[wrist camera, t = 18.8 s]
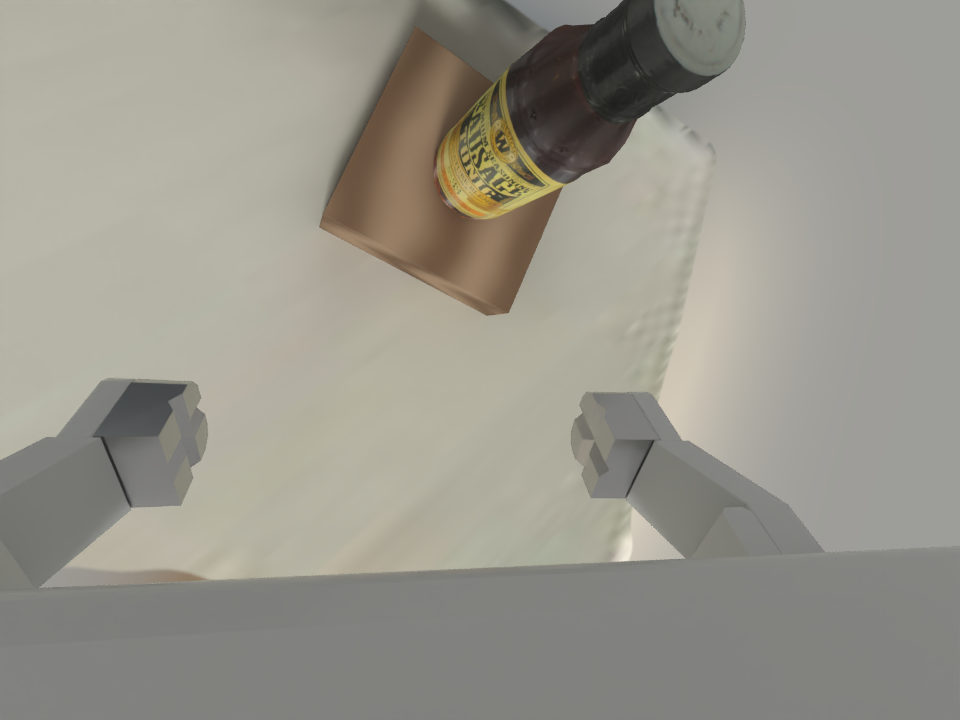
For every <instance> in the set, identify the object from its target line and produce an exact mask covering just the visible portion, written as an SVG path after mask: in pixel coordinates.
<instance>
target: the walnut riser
mask: <svg viewBox="0 0 960 720" xmlns="http://www.w3.org/2000/svg"><path fill="white" fill-rule="evenodd" d="M493 84H494V83H492V82H491V81H490V80H488V79H487V78H486V77H484V76H483V75H481V74H480V73H479V72H477V71H476V70H475V69H473V68H472V67H471V66H469V65H468V64H466V63H465V62H464V61H462V60H461V59H460V58H458V57H457V56H456V55H454V54H453V53H451V52H450V51H449V50H447V49H446V48H445V47H443V46H442V45H440V44H439V43H438V42H436V41H435V40H434V39H432V38H431V37H430V36H428V35H427V34H425V33H424V32H423V31H421V30H420V29H419V28H417V27H416V26H415V28H414V30H413V32H412V34H411V36H410V38H409V40H408V42H407V45H406V47H405V49H404V51H403V53H402V55H401V57H400V59H399V61H398V63H397V65H396V67H395V69H394V71H393V73H392V75H391V77H390V79H389V81H388V83H387V85H386V87H385V89H384V91H383V93H382V95H381V97H380V99H379V101H378V103H377V105H376V108H375V110H374V112H373V114H372V116H371V118H370V120H369V122H368V124H367V126H366V128H365V130H364V132H363V134H362V136H361V138H360V140H359V142H358V144H357V146H356V148H355V150H354V152H353V154H352V156H351V158H350V160H349V162H348V164H347V166H346V168H345V171H344V173H343V175H342V177H341V179H340V181H339V183H338V185H337V187H336V189H335V191H334V193H333V195H332V197H331V199H330V201H329V203H328V205H327V207H326V209H325V211H324V213H323V217H322V220H321V224H320V228H322V229H324V230H326V231H328V232H330V233H331V234H333V235H335V236H337V237H339V238H341V239H343V240H345V241H347V242H349V243H350V244H352V245H354V246H356V247H358V248H360V249H362V250H364V251H366V252H368V253H369V254H371V255H373V256H375V257H377V258H379V259H381V260H383V261H385V262H386V263H388V264H390V265H392V266H394V267H396V268H398V269H400V270H402V271H404V272H405V273H407V274H409V275H411V276H413V277H415V278H417V279H419V280H421V281H423V282H424V283H426V284H428V285H430V286H432V287H434V288H436V289H438V290H440V291H442V292H443V293H445V294H447V295H449V296H451V297H453V298H455V299H457V300H459V301H461V302H462V303H464V304H466V305H468V306H470V307H472V308H474V309H476V310H478V311H480V312H481V313H483V314H485V315H487V316H488V315H496V314H504V313H509V311H510V309H511V306H512V304H513V302H514V299H515V297H516V295H517V292H518V290H519V288H520V285H521V283H522V281H523V278H524V276H525V274H526V271H527V269H528V267H529V264H530V262H531V260H532V257H533V255H534V253H535V250H536V248H537V246H538V243H539V241H540V238H541V236H542V234H543V231H544V229H545V227H546V224H547V222H548V220H549V217H550V215H551V213H552V210H553V208H554V206H555V203H556V201H557V199H558V196H559V194H560V192H561V189H562V187H561V188H559V189H557V190H554V191H552V192H550V193H548V194H546V195H544V196H542V197H540V198H537V199H535V200H533V201H531V202H529V203H527V204H525V205H522V206H520V207H518V208H516V209H514V210H512V211H510V212H507V213H505V214H503V215H501V216H499V217H496V218H492V219H483V220H481V219H480V220H475V219H469V218H463V217H461V216H460V215H458V214H457V213H456V212H454V211H452V210H451V209H450V208H449V207H448V206H447V205H446V204H445V203H444V201H443V200H442V199H441V197H440V196H439V195H438V192H437V188H436V187H435V183H434V174H433V173H434V171H433V164H434V157H435V155H436V154H437V152H438V150H439V147H440V145H441V143H442V141H443V139H444V138H445V136H446V135H447V134H448V132H449V131H450V130H451V129H452V128H453V127H454V126H455V125H456V124H457V123H458V122H459V121H460V120H461V118H462V117H463V116H464V115H465V114H466V113H467V112H468V111H469V110H470V109H471V108H472V107H473V106H474V104H475V103H476V102H477V101H478V100H479V99H480V98H481V97H482V96H483V95H484V94H485V92H486V91H487V90H488V89H489V88H490V87H491V86H492V85H493Z"/></svg>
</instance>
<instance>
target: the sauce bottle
mask: <svg viewBox="0 0 960 720" xmlns="http://www.w3.org/2000/svg"><path fill="white" fill-rule="evenodd" d="M745 25H746V21H745V9H744V1H743V0H623V1H622V2H621V3H620V4H619V6H618V7H616V8H615V9H614V10H613V11H611V12H610V13H609V14H608V15H607V16H606V17H604V18H601V19H600V20H599V21H597V22H596V23H595V24H591V25H574V26H571V25H563V26H560V27H558V28H556V29H554V30H553V31H552V32H550V33H549V34H548V35H547V36H546V37H544V38H543V39H542V40H541V41H540V42H539V43H537V44H536V45H535V46H534V47H533V48H532V49H530V50H529V51H528V52H527V53H526V54H524V55H523V56H522V57H521V58H520V59H519V60H517V61H516V62H515V63H513V64H512V65H511V66H510V67H509V68H508V69H507V70H506V71H505V72H504V73H503V74H502V75H501V77H500V78H499V79H498V80H497V81H496V82H495V83H494V84H493V85H492V86H491V87H490V88H489V89H488V90H487V91H486V92H485V94H484V95H483V96H482V97H481V98H480V99H479V100H478V101H477V102H476V103H475V104H474V106H473V107H472V108H471V109H470V110H469V111H468V112H467V113H466V114H465V115H464V116H463V117H462V118H461V120H460V121H459V122H458V123H457V124H456V125H455V126H454V127H453V128H452V129H451V130H450V131H449V132H448V134H447V135H446V136H445V138H444V139H443V141H442V143H441V145H440V147H439V150H438V152H437V154H436V155H435V157H434V164H433V171H434V173H433V174H434V183H435V187H436V188H437V192H438V195H439V196H440V197H441V199H442V200H443V201H444V203H445V204H446V205H447V206H448V207H449V208H450V209H451V210H452V211H454V212H456V213H457V214H458V215H460V216H461V217H463V218H469V219H475V220H480V219H481V220H483V219H492V218H496V217H499V216H501V215H503V214H505V213H507V212H510V211H512V210H514V209H516V208H518V207H520V206H522V205H525V204H527V203H529V202H531V201H533V200H535V199H537V198H540V197H542V196H544V195H546V194H548V193H550V192H552V191H554V190H557V189H559V188H561V187H563V186H565V185H567V184H569V183H571V182H573V181H575V180H576V179H578V178H579V177H580V176H581V175H583V174H585V173H587V172H590V171H592V170H594V169H596V168H598V167H600V166H603V165H605V164H608V163H609V162H610V161H611V159H612V158H613V157H614V156H615V154H616V153H617V152H618V151H619V150H620V149H621V147H622V146H623V145H624V144H625V142H626V140H627V138H628V137H629V135H630V133H631V130H632V128H633V126H634V124H635V122H636V120H637V119H638V118H640V117H641V116H643V115H644V114H646V113H647V112H649V111H650V109H651V108H652V107H654V106H655V105H658V104H660V103H661V102H663V101H665V100H666V99H668V98H669V97H672V96H673V95H675V94H676V93H684V92H690V91H692V90H695V89H697V88H699V87H701V86H702V85H704V84H706V83H708V82H709V81H711V80H712V79H714V78H715V77H717V76H719V75H720V74H722V73H723V72H725V71H726V70H727V69H728V68H729V67H730V66H731V65H732V64H733V62H734V61H735V59H736V57H737V56H738V54H739V52H740V49H741V45H742V43H743V41H744V34H745Z"/></svg>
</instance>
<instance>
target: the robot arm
mask: <svg viewBox="0 0 960 720" xmlns="http://www.w3.org/2000/svg"><path fill="white" fill-rule="evenodd" d="M200 399H201V395H200V392H199V389H198V385H197V384H196V383H194V382H193V381H172V380H150V379H137V380H136V379H119V378H108V379H105V380H103V381H101V382H100V383H99V384H98V385H97V387H96V388H95V389H94V390H93V392H92V393H91V394H90V395H89V397H88V398H87V399H86V400H85V402H84V403H83V404H82V405H81V407H80V408H79V409H78V410H77V412H76V413H75V414H74V415H73V417H72V418H71V419H70V420H69V422H68V423H67V424H66V425H65V427H64V428H63V429H62V430H61V431H60V433H59V434H58V435H57V436H56V437H46V438H44V439H42V440H40V441H38V442H36V443H34V444H32V445H30V446H28V447H26V448H24V449H22V450H20V451H18V452H16V453H14V454H12V455H10V456H8V457H6V458H4V459H2V460H0V720H960V546H952V547H931V548H911V549H890V550H869V551H847V552H824V550H823V549H822V548H821V546H820V545H819V544H818V542H817V541H816V540H815V539H814V537H813V536H812V535H811V534H810V532H809V531H808V530H807V529H806V527H805V526H804V524H803V523H802V522H801V521H800V519H799V518H798V517H797V515H796V514H795V513H794V512H793V510H792V509H791V508H790V506H789V505H788V504H786V503H785V502H783V501H782V500H780V499H779V498H777V497H775V496H774V495H772V494H771V493H769V492H768V491H766V490H764V489H763V488H761V487H760V486H758V485H757V484H755V483H754V482H752V481H750V480H749V479H747V478H746V477H744V476H743V475H741V474H740V473H738V472H736V471H735V470H733V469H732V468H730V467H729V466H727V465H726V464H724V463H722V462H721V461H719V460H718V459H716V458H715V457H713V456H712V455H710V454H708V453H707V452H705V451H704V450H702V449H701V448H699V447H697V446H696V445H694V444H693V443H691V442H690V441H682V439H681V438H680V436H679V435H678V433H677V432H676V430H675V429H674V427H673V425H672V424H671V423H670V421H669V419H668V418H667V416H666V415H665V413H664V412H663V410H662V409H661V407H660V406H659V404H658V403H657V401H656V400H655V398H654V397H653V395H652V394H650V393H648V392H627V393H619V392H586V393H585V394H584V395H583V397H582V400H581V402H580V408H581V410H582V412H583V413H582V414H581V415H580V416H579V417H577V418H576V419H575V420H574V423H573V427H572V430H571V446H572V451H573V454H574V457H575V459H576V460H577V461H578V462H579V463H581V464H582V465H583V466H584V469H583V472H582V474H581V475H582V477H583V480H584V482H585V485H586V488H587V490H588V493H589V495H590V498H626V501H627V502H628V503H629V504H630V505H631V506H632V507H633V508H634V509H636V510H637V511H638V512H639V513H640V514H641V515H642V516H643V517H644V518H645V519H646V520H647V521H648V522H649V523H650V524H651V525H652V526H653V527H654V528H655V529H656V530H657V531H658V532H659V533H660V534H661V535H662V536H663V537H664V538H665V539H666V540H667V541H668V542H669V543H670V544H671V545H673V547H675V549H677V550H678V551H679V552H680V553H681V554H682V555H683V556H684V557H685V558H686V559H669V560H648V561H624V562H602V563H580V564H558V565H536V566H515V567H493V568H471V569H449V570H427V571H405V572H382V573H360V574H338V575H316V576H294V577H272V578H250V579H228V580H206V581H184V582H162V583H140V584H119V585H96V586H74V587H53V588H39V587H40V586H41V585H42V584H44V583H45V582H46V581H47V580H48V579H49V578H51V577H52V576H53V575H54V574H55V573H56V572H58V571H59V570H60V569H61V568H63V567H64V566H65V565H66V564H67V563H69V562H70V561H71V560H72V559H73V558H74V557H76V556H77V555H78V554H79V553H80V552H82V551H83V550H84V549H85V548H86V547H88V546H89V545H90V544H91V543H92V542H94V541H95V540H96V539H97V538H98V537H100V536H101V535H102V534H103V533H104V532H105V531H107V530H108V529H109V528H110V527H111V526H113V525H114V524H115V523H116V522H117V521H119V520H120V519H121V518H122V517H123V516H125V515H126V514H127V513H128V512H129V511H130V510H131V508H134V507H158V506H181V504H182V502H183V500H184V498H185V495H186V493H187V491H188V488H189V486H190V484H191V482H192V479H193V476H192V472H191V467H192V466H194V465H195V464H196V463H198V462H199V461H201V459H202V456H203V454H204V451H205V449H206V443H207V437H208V426H207V420H206V416H205V414H204V413H203V412H202V411H200V410H199V409H198V408H197V405H198V403H199V401H200Z"/></svg>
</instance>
